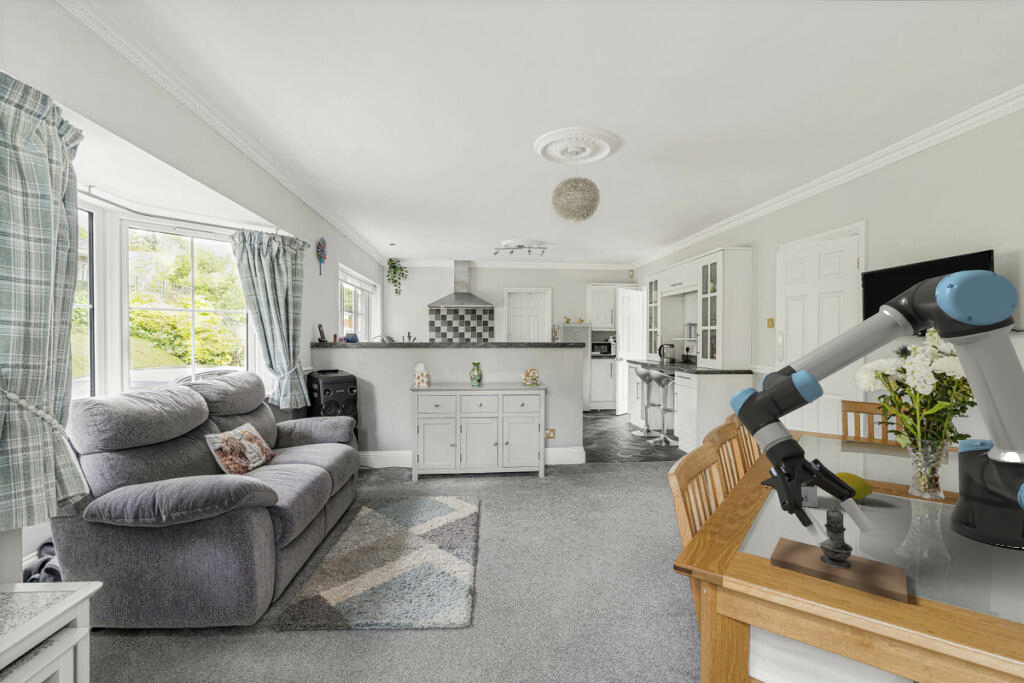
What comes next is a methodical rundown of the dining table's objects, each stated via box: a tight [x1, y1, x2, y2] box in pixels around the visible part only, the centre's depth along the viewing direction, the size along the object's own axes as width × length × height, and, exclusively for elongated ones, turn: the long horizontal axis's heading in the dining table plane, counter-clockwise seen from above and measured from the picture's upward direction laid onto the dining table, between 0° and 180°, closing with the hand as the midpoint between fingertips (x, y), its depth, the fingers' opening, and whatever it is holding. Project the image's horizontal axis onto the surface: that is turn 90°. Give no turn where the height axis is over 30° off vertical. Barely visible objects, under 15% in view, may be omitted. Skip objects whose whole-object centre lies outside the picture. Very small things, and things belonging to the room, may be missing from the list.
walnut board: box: [770, 536, 909, 604], centre depth 91 cm, size 22×12×2 cm, turn 49°
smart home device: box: [760, 476, 777, 491], centre depth 145 cm, size 8×2×20 cm
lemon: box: [834, 471, 874, 502], centre depth 128 cm, size 11×8×8 cm
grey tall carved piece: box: [819, 505, 854, 569], centre depth 91 cm, size 6×6×12 cm
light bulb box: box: [801, 475, 819, 508], centre depth 129 cm, size 11×7×11 cm, turn 169°
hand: (847, 535), depth 89 cm, fingers open, 13 cm apart
